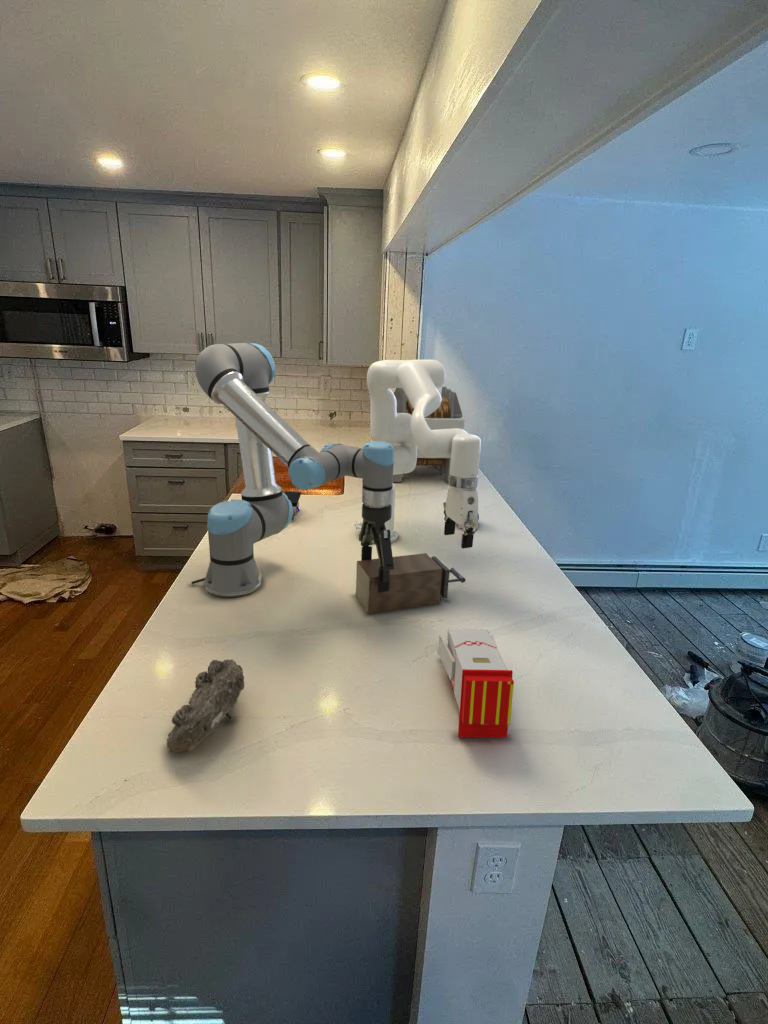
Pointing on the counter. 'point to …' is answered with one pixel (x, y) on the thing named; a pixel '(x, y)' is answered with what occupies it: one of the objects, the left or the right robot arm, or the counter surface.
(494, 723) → the toy
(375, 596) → the cabinet
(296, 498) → the figurine character
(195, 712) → the fossil
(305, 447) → the left robot arm
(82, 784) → the counter surface
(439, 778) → the counter surface
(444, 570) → the drawer
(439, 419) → the transformer
